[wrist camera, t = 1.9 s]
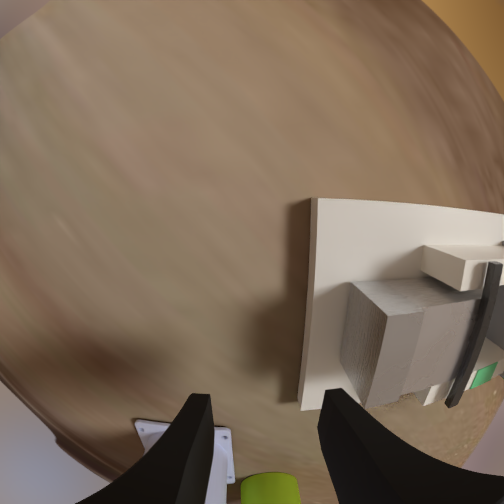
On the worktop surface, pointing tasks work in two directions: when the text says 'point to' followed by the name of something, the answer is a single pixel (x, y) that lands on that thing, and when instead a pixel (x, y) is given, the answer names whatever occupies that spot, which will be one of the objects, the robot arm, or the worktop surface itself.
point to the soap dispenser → (270, 489)
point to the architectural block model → (392, 277)
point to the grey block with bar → (414, 335)
